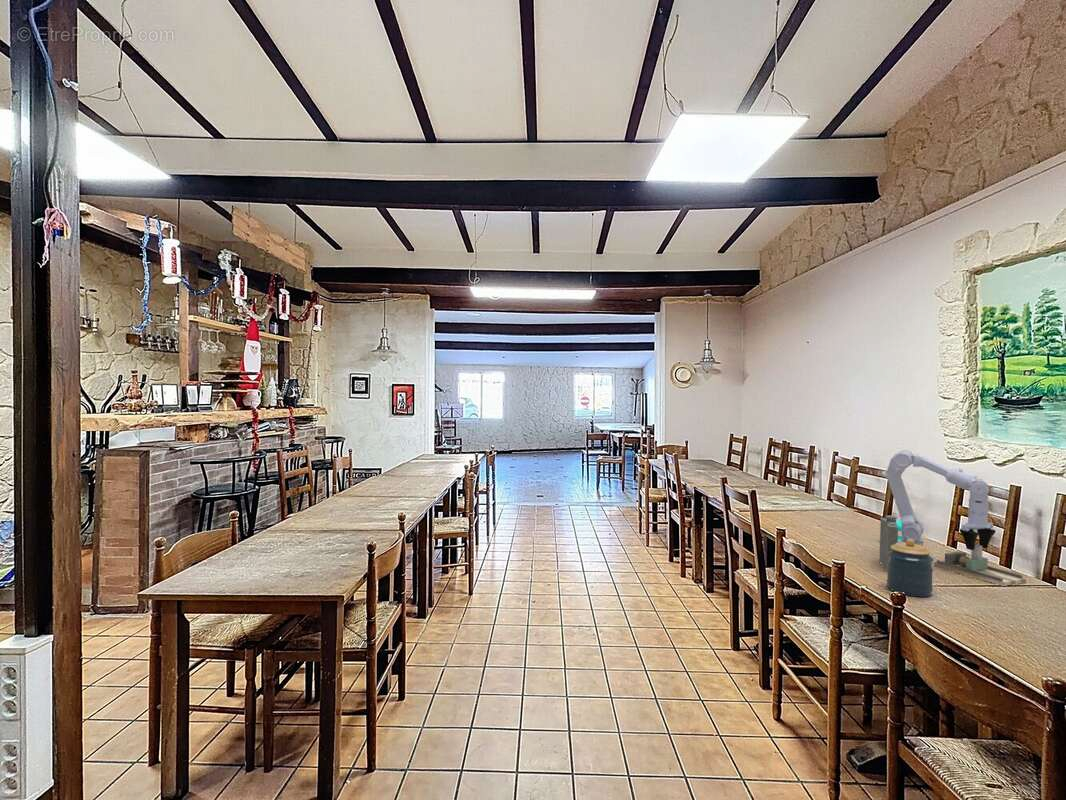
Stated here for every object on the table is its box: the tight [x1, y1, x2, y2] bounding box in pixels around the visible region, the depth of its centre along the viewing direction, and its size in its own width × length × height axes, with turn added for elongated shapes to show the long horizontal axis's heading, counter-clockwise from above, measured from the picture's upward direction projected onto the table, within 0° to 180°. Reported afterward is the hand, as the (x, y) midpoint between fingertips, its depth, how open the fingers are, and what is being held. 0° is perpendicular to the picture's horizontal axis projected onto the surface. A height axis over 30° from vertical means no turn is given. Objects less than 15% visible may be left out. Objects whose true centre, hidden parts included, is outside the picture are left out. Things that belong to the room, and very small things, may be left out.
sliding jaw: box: [966, 543, 989, 571], centre depth 210 cm, size 9×3×9 cm, turn 111°
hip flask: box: [879, 515, 899, 573], centre depth 215 cm, size 16×4×20 cm, turn 159°
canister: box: [886, 539, 934, 598], centre depth 191 cm, size 13×13×18 cm
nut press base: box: [933, 551, 1027, 587], centre depth 209 cm, size 12×24×6 cm, turn 21°
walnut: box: [959, 555, 971, 567], centre depth 214 cm, size 4×4×4 cm
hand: (976, 548), depth 210 cm, fingers open, 7 cm apart
